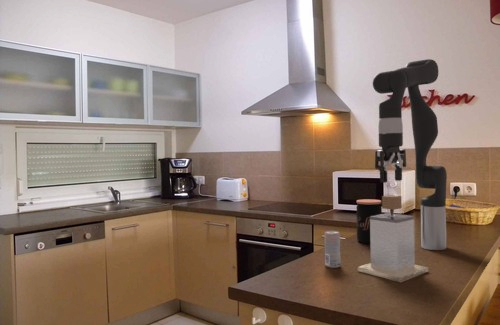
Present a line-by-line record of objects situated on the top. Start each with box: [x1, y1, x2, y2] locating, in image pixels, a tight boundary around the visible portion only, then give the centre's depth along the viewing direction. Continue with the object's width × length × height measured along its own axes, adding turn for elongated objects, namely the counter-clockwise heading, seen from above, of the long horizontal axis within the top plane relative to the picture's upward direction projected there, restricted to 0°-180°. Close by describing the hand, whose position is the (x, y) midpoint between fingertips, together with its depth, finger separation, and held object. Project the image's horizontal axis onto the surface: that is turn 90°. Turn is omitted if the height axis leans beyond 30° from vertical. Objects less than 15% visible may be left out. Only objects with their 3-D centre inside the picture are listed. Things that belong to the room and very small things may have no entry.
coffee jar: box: [356, 198, 383, 245], centre depth 183 cm, size 11×11×18 cm
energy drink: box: [324, 230, 341, 269], centre depth 147 cm, size 5×5×12 cm
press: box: [357, 212, 429, 283], centre depth 139 cm, size 16×16×18 cm
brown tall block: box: [381, 194, 402, 217], centre depth 139 cm, size 7×7×21 cm
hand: (391, 181), depth 138 cm, fingers open, 8 cm apart
